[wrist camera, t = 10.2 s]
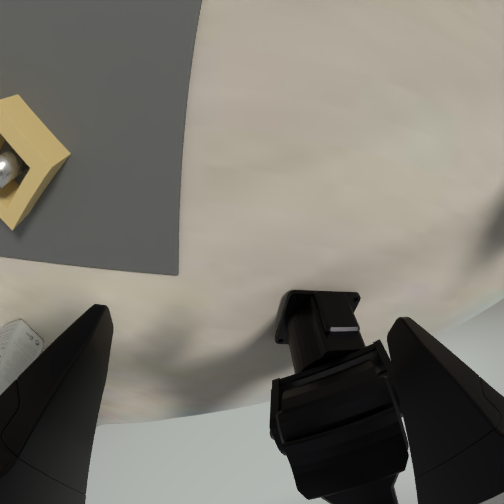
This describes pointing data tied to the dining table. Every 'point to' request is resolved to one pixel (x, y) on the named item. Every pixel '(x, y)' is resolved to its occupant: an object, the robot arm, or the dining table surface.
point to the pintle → (10, 166)
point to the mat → (102, 126)
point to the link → (27, 158)
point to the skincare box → (17, 351)
